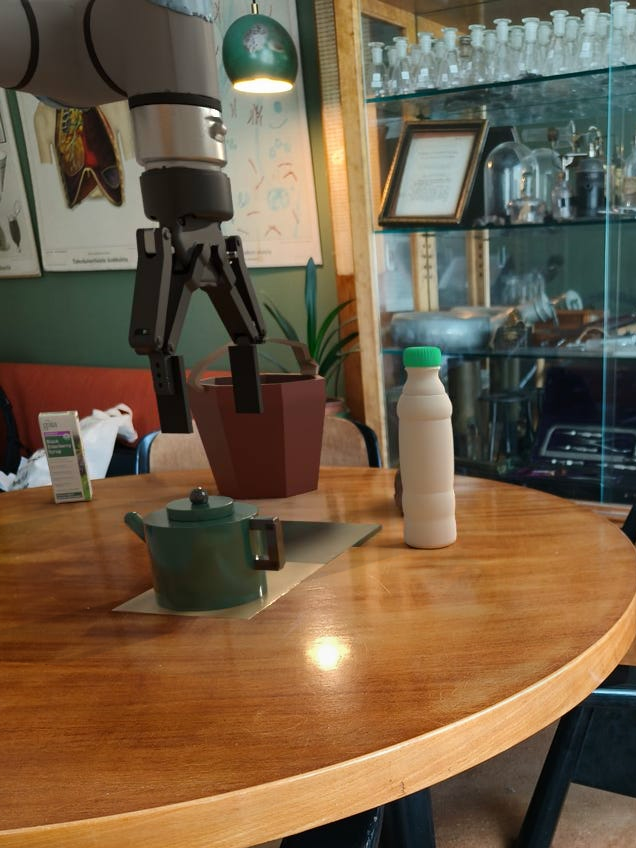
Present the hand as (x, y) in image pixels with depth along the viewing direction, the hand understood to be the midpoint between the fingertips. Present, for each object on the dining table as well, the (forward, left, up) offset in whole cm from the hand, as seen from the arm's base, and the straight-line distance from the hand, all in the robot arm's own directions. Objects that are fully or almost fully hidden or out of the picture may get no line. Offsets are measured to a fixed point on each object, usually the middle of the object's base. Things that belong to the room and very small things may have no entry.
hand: (216, 422), depth 84 cm
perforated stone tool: (+1, +53, -20) cm, 57 cm away
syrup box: (-59, +51, -20) cm, 80 cm away
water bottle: (+10, +33, -20) cm, 40 cm away
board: (-7, +19, -20) cm, 29 cm away
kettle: (-7, +6, -19) cm, 21 cm away
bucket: (-28, +63, -20) cm, 72 cm away
